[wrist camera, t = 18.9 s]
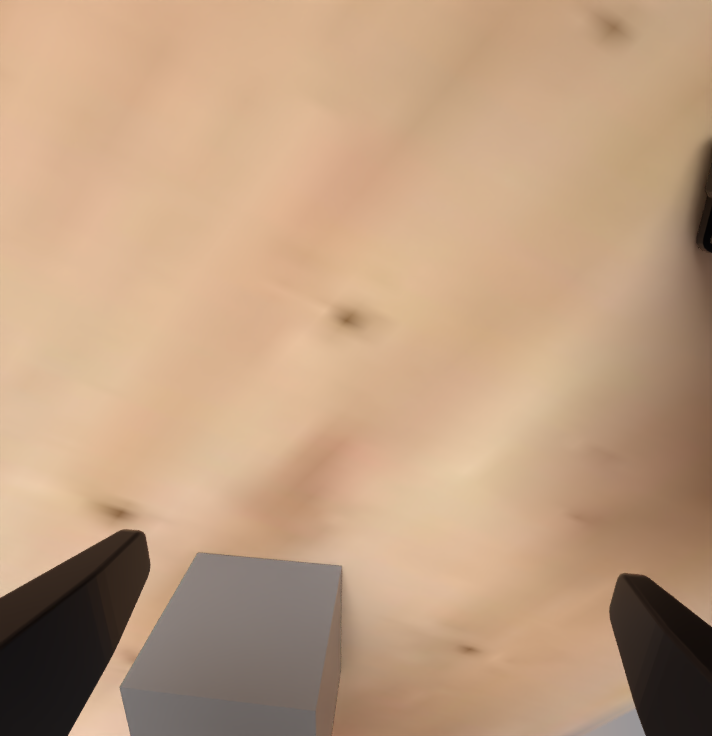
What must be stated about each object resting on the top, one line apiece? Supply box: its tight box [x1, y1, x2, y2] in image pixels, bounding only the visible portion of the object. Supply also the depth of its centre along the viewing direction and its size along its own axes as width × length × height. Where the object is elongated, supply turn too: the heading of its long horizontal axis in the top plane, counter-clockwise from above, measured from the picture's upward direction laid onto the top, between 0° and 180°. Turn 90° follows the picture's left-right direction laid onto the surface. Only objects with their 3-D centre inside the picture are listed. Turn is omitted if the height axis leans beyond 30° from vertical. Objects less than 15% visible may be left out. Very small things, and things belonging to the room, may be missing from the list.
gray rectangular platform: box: [120, 553, 342, 736], centre depth 23 cm, size 8×8×7 cm
